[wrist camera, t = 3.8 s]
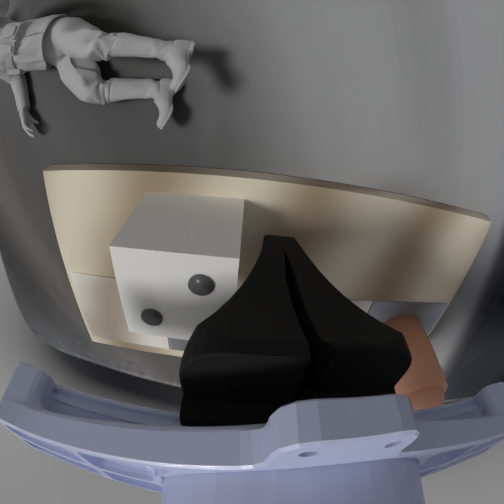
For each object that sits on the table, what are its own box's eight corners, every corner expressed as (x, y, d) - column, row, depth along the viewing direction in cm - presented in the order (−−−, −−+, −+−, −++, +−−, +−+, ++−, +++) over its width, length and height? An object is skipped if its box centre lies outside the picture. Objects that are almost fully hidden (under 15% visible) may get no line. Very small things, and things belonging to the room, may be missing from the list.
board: (484, 214, 13) (493, 222, 12) (405, 354, 20) (408, 364, 19) (52, 164, 12) (41, 171, 11) (96, 332, 18) (92, 342, 18)
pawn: (430, 314, 16) (468, 400, 11) (406, 350, 18) (432, 430, 13) (382, 313, 16) (415, 412, 10) (360, 352, 18) (381, 441, 12)
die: (244, 199, 12) (239, 260, 9) (236, 276, 14) (230, 346, 11) (147, 191, 12) (108, 247, 8) (154, 268, 14) (128, 333, 11)
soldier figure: (156, 161, 13) (-54, 151, 8) (171, 80, 13) (-22, 73, 8) (206, 49, 6) (-124, 73, 1) (224, -35, 6) (-55, -22, 1)
